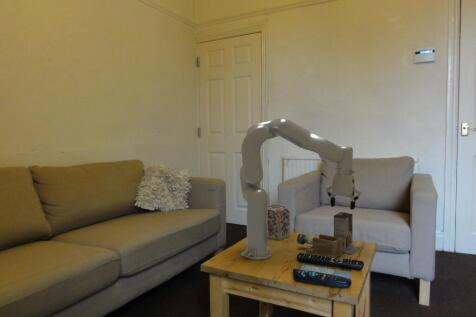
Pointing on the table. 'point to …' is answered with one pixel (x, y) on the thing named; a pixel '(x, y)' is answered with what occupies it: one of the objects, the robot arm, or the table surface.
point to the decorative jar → (278, 222)
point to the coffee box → (343, 228)
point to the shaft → (304, 239)
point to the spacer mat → (351, 249)
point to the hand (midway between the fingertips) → (342, 207)
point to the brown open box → (326, 246)
